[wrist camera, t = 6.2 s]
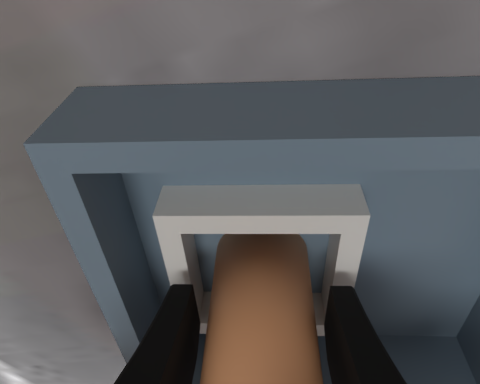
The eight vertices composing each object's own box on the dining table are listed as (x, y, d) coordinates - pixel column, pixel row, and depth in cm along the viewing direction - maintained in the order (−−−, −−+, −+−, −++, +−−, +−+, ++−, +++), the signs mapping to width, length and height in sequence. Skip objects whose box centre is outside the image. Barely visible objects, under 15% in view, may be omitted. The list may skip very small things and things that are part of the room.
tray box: (616, 72, 9) (733, 132, 7) (463, 334, 17) (495, 405, 15) (77, 87, 10) (23, 143, 8) (157, 328, 18) (141, 394, 16)
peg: (324, 261, 13) (365, 515, 8) (252, 291, 15) (246, 526, 9) (273, 206, 12) (282, 474, 7) (198, 246, 13) (153, 495, 8)
